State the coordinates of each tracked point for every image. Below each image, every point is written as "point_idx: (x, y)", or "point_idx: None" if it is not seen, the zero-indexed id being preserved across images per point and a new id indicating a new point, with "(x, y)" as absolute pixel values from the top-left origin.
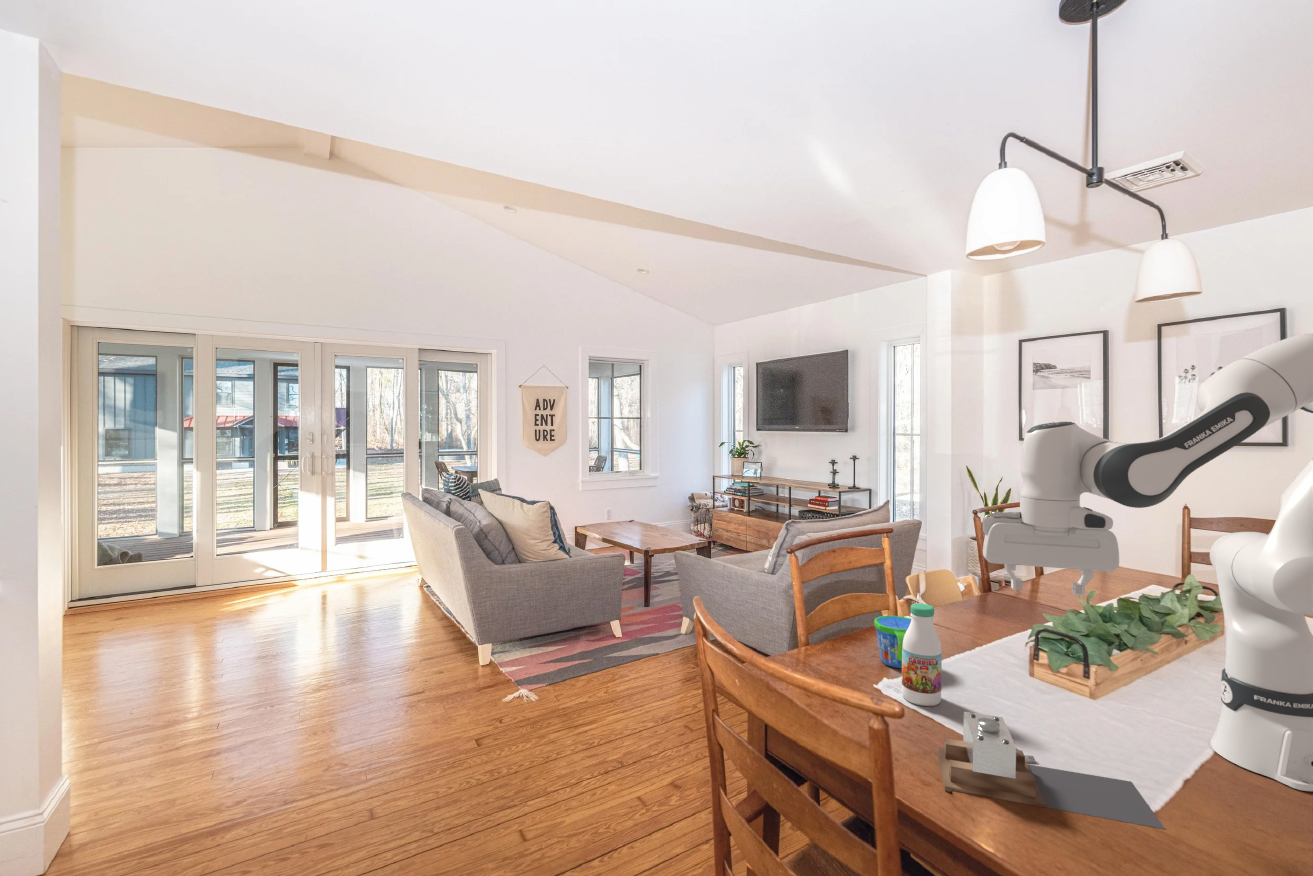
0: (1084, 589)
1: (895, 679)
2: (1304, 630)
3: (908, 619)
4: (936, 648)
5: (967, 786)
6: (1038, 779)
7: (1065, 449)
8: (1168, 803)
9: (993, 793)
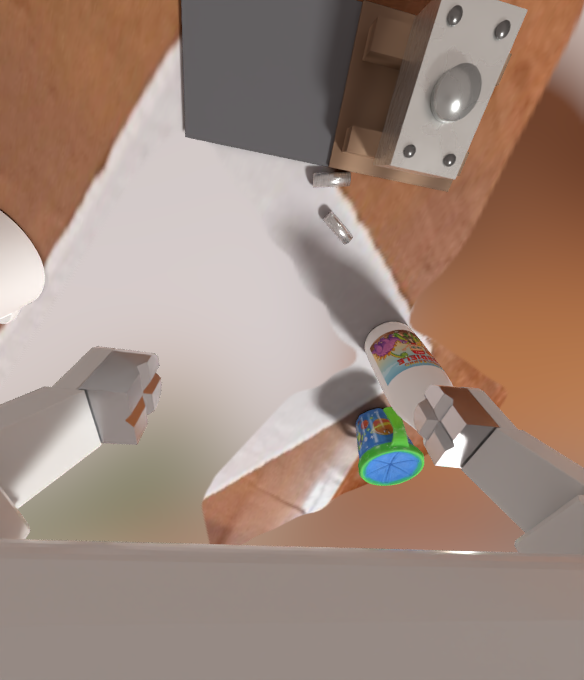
0: (75, 366)
1: None
2: None
3: (369, 479)
4: (410, 378)
5: None
6: (330, 114)
7: None
8: (147, 78)
9: None
